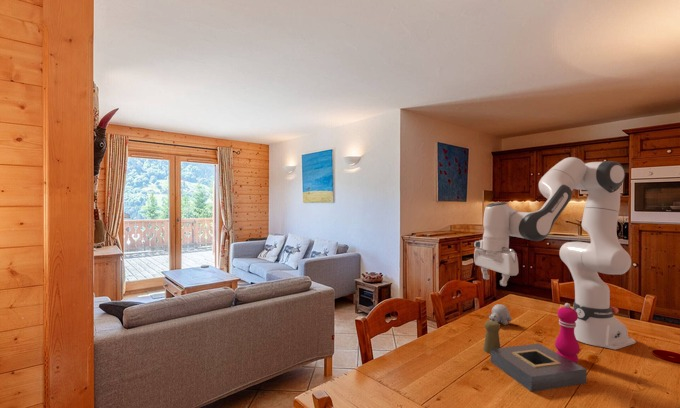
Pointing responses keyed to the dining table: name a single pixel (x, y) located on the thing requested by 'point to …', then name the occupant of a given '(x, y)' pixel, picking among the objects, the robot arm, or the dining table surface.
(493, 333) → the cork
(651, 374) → the dining table surface
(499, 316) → the round bodied animal figurine
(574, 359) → the pepper mill
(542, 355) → the block
